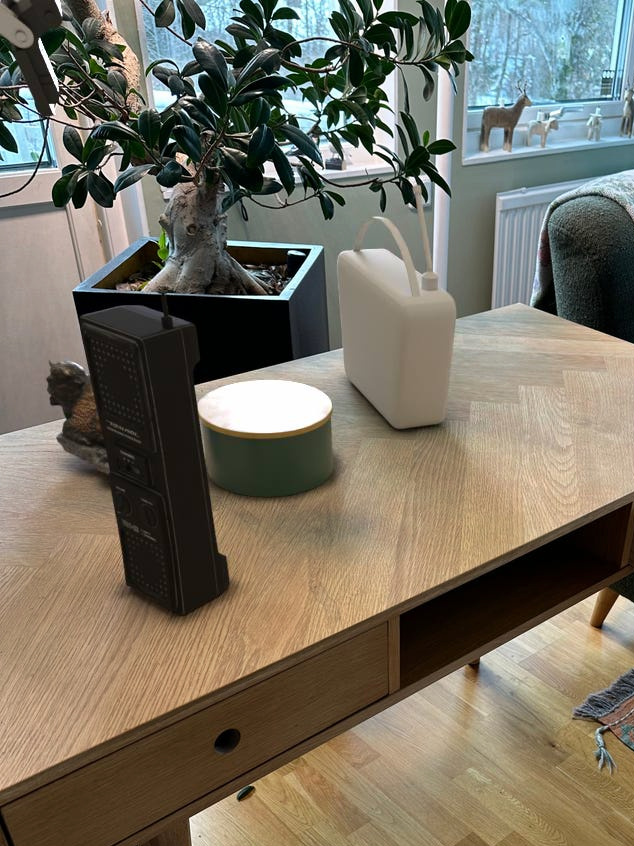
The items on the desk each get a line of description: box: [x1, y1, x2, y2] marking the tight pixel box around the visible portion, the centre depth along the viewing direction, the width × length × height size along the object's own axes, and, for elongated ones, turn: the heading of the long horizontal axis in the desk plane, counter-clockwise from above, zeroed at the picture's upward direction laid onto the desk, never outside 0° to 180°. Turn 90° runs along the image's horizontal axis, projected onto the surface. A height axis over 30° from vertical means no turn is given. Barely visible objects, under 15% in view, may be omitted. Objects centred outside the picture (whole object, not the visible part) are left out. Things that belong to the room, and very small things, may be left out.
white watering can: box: [336, 184, 457, 430], centre depth 102 cm, size 22×8×25 cm, turn 26°
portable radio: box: [79, 289, 231, 615], centre depth 68 cm, size 8×6×25 cm
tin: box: [197, 379, 334, 498], centre depth 91 cm, size 13×13×7 cm
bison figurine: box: [45, 359, 110, 476], centre depth 88 cm, size 12×7×10 cm, turn 59°
